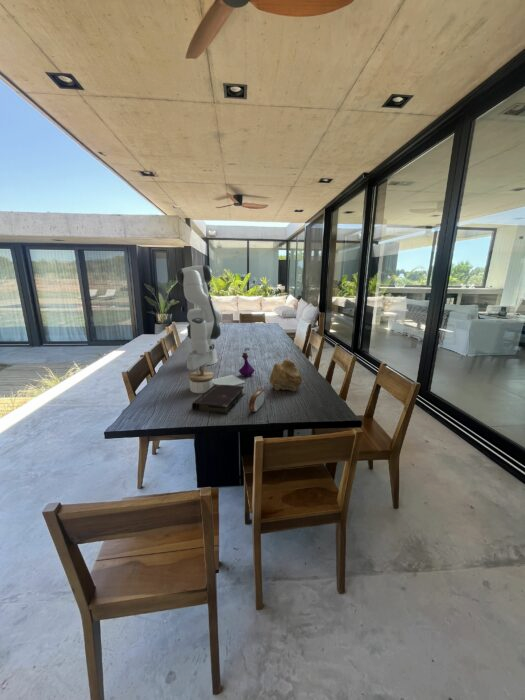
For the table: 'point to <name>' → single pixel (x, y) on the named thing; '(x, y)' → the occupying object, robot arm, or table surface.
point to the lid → (201, 375)
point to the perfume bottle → (246, 366)
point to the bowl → (201, 386)
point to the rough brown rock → (285, 376)
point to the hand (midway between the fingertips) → (200, 372)
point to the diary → (219, 399)
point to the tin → (257, 400)
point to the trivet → (228, 380)
